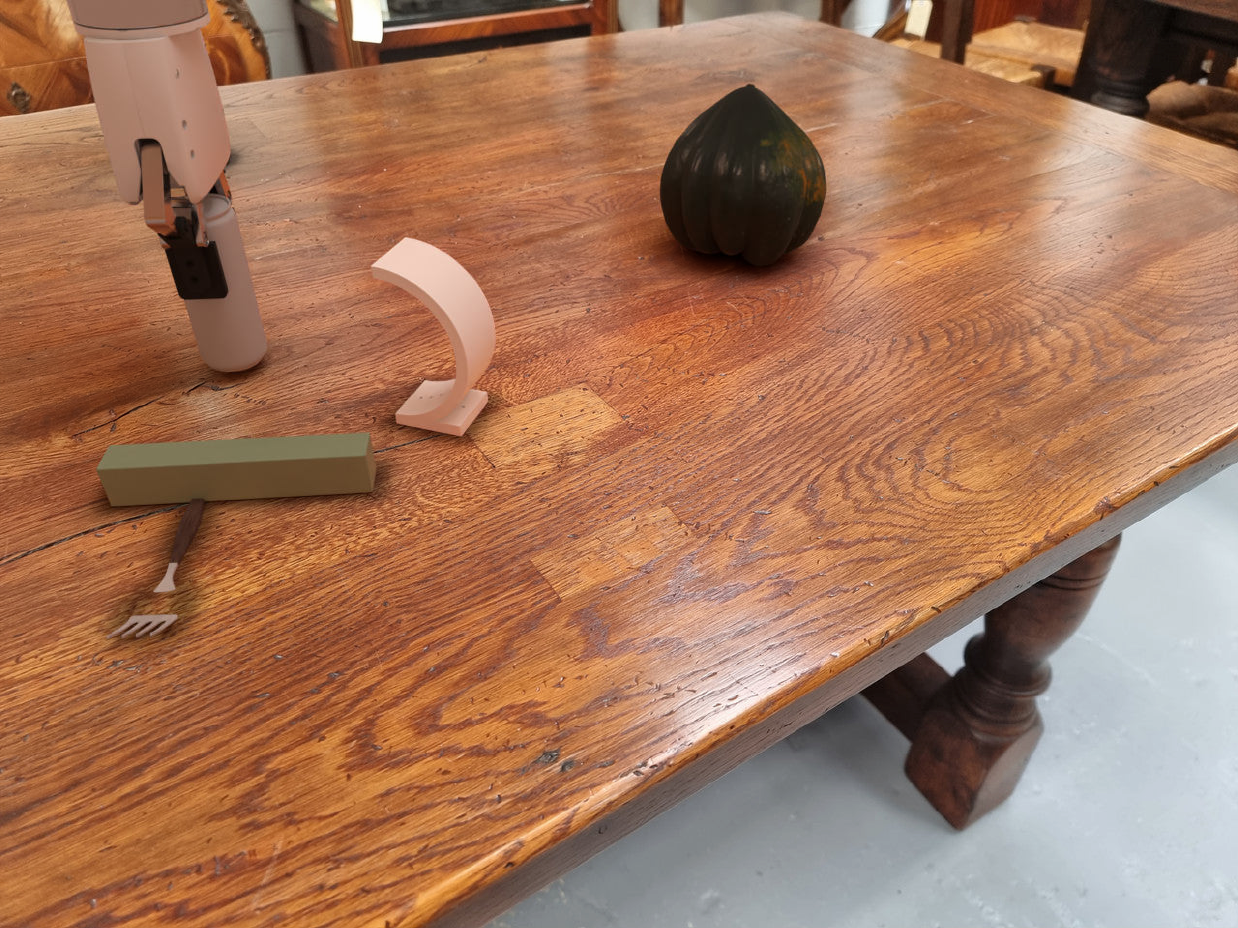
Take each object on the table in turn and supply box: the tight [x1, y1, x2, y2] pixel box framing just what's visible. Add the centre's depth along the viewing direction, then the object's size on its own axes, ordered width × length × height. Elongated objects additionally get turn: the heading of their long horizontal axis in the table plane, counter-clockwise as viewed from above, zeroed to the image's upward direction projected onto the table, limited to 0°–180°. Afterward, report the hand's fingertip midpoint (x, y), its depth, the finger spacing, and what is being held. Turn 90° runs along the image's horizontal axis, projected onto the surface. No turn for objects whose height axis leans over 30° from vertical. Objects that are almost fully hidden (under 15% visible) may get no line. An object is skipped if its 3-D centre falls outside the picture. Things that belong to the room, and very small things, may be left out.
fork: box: [105, 498, 207, 640], centre depth 54 cm, size 3×16×2 cm, turn 6°
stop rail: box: [95, 432, 378, 507], centre depth 58 cm, size 16×2×3 cm, turn 96°
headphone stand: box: [370, 236, 497, 437], centre depth 62 cm, size 5×6×12 cm
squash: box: [659, 83, 827, 267], centre depth 85 cm, size 14×15×15 cm
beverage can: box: [173, 194, 269, 373], centre depth 66 cm, size 5×5×12 cm
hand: (214, 276), depth 66 cm, fingers closed on beverage can, 4 cm apart
